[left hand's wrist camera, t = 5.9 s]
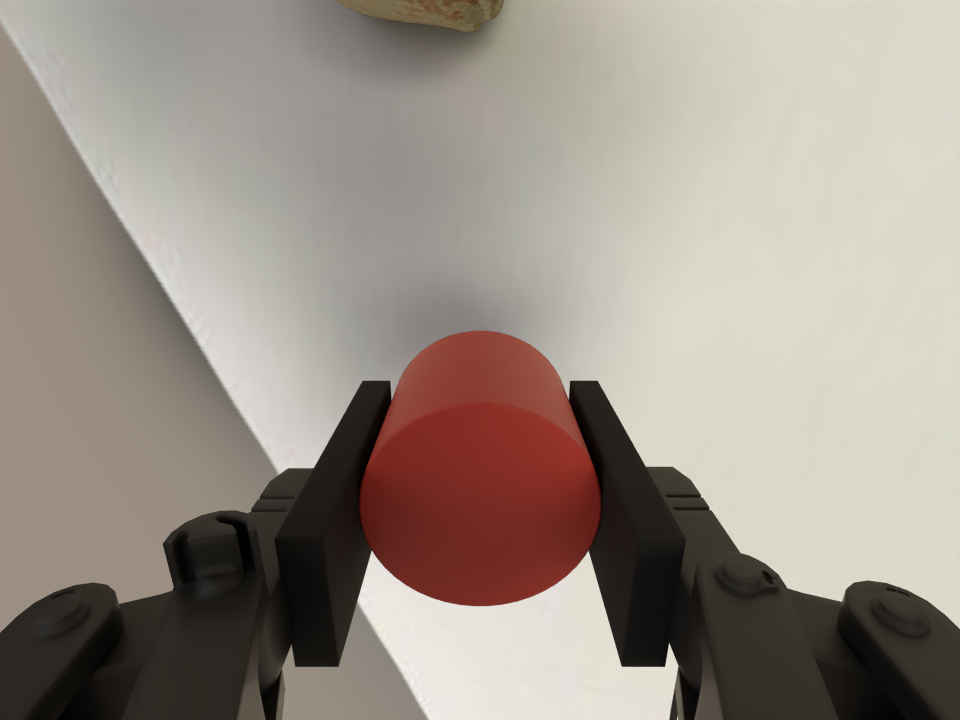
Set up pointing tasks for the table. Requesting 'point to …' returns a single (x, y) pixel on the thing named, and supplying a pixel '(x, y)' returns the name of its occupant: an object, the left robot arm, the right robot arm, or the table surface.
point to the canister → (480, 475)
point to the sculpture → (430, 11)
